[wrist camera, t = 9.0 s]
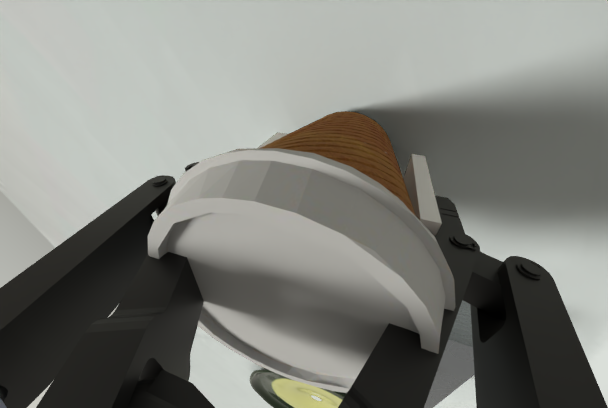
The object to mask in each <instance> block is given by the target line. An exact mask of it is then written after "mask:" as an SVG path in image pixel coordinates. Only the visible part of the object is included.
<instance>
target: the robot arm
mask: <svg viewBox="0 0 608 408" xmlns="http://www.w3.org/2000/svg"><path fill="white" fill-rule="evenodd" d="M286 135H288V134H285V133H278V132H277V133H276V134H275V135H273V136H272V137H271V138H270V139H268V140H267V141H266V142H264V143H263V144H262V145H260V146H259V147H258V148H257V149H259V148H261V147H264V146H265V145H267V144H269V143H272V142H274V141H275V140H278V139H280V138H282V137H284V136H286ZM198 163H199V162H197V163H193V164H190V165H188V166H187V167H186V168H185V170H186V171H188V170H189V169H191V168H192V167H194V166H195V165H196V164H198ZM403 180H404V182H405V185H406V189H407V191H408V194H409V197H410V200H411V203H412V206H413V209H414V212H415V215H416V217H417V218H418V219H419V220H420V221H421V222H422V224H423V225H424V226H425V227H426V228H427V229H428V230H429V231H430V232H431V233H432V234H433V235H434V236H435V238H436V240H437V243H438V245H439V247H440V249H441V251H442V253H443V255H444V257H445V259H446V262H447V264H448V266H449V268H450V270H451V272H452V275H453V278H454V286H455V309H454V311H452V310H448V309H444V312H443V319H442V326H441V334H440V343H439V353H438V354H437V353H434V352H431V351H428V350H426V349H423V348H421V341H420V334H418V333H416V332H413V331H411V330H408V329H405V328H402V327H399V326H396V325H393V324H390V323H389V324H388V326H387V328H386V329H385V331H384V333H383V334H382V336H381V338H380V339H379V341H378V343H377V344H376V346H375V348H374V349H373V351H372V353H371V354H370V356H369V358H368V359H367V361H366V363H365V364H364V366H363V368H362V370H361V371H360V373H359V375H358V376H357V378H356V380H355V381H354V383H353V385H352V386H351V388H350V389H349V391H348V392H347V394H346V395H345V397H344V398H343V400H342V402H341V403H340V405H339V407H338V408H424V406H425V403H426V400H427V398H428V395H429V392H430V389H431V386H432V384H433V381H434V378H435V375H436V372H437V370H438V367H439V364H440V361H441V358H442V356H443V353H444V350H445V347H446V344H447V342H448V339H449V336H450V333H451V331H452V328H453V325H454V322H455V319H456V317H457V314H458V311H459V308H460V305H461V303H462V300H463V301H465V302H467V303H469V304H470V308H471V324H472V340H473V356H474V371H475V387H476V403H477V408H608V407H607V405H606V403H605V401H604V398H603V396H602V393H601V391H600V388H599V386H598V384H597V381H596V379H595V377H594V374H593V372H592V370H591V367H590V365H589V362H588V360H587V358H586V355H585V353H584V350H583V348H582V346H581V343H580V341H579V339H578V336H577V334H576V332H575V329H574V327H573V324H572V322H571V320H570V317H569V315H568V313H567V310H566V308H565V305H564V303H563V301H562V298H561V296H560V294H559V291H558V289H557V287H556V284H555V282H554V279H553V278H552V276H551V275H550V274H549V272H547V271H546V270H545V269H544V268H543V267H542V266H540V265H539V264H537V263H535V262H533V261H531V260H528V259H526V258H523V257H518V256H510V257H508V258H507V259H506V260H505V261H504V262H502V261H499V260H497V259H495V258H492V257H490V256H488V255H486V254H484V253H482V252H480V247H479V245H478V244H477V242H476V241H475V240H473V239H472V238H471V237H469V236H468V235H466V234H465V232H464V230H463V227H462V224H461V221H460V218H459V215H458V213H457V210H456V207H455V205H454V204H453V203H452V202H451V201H450V200H449V199H448V198H444V197H439V196H435V194H434V190H433V186H432V182H431V178H430V174H429V169H428V165H427V161H426V157H425V156H423V155H416V154H412V155H411V158H410V160H409V163H408V166H407V169H406V172H405V175H404V178H403ZM175 184H176V182H175V179H174V178H173V177H171V176H157V177H155V178H152V179H150V180H148V181H147V182H145V183H144V184H143V185H141V186H140V187H139V188H137V189H136V190H134V191H133V192H132V193H130V194H129V195H128V196H126V197H125V198H123V199H122V200H121V201H119V202H118V203H117V204H115V205H114V206H112V207H111V208H110V209H108V210H107V211H106V212H104V213H103V214H101V215H100V216H99V217H97V218H96V219H95V220H93V221H92V222H90V223H89V224H88V225H86V226H85V227H84V228H82V229H81V230H79V231H78V232H77V233H75V234H74V235H73V236H71V237H70V238H68V239H67V240H66V241H64V242H63V243H62V244H60V245H59V246H58V247H56V248H55V249H53V250H52V251H51V252H49V253H48V254H47V255H45V256H44V257H42V258H41V259H40V260H38V261H37V262H36V263H34V264H33V265H31V266H30V267H29V268H27V269H26V270H25V271H24V272H22V273H20V274H19V275H18V276H16V277H15V278H14V279H12V280H11V281H9V282H8V283H7V284H5V285H4V286H3V287H1V288H0V408H27V407H28V406H29V405H30V404H31V403H32V402H33V401H34V400H35V398H37V397H38V396H39V395H40V394H41V393H42V392H43V391H44V390H45V389H46V388H47V387H48V385H50V383H51V382H52V381H53V380H54V381H53V382H52V384H51V385H50V387H49V389H48V390H47V392H46V393H45V395H44V396H43V398H42V400H41V401H40V403H39V404H38V406H37V407H36V408H215V407H214V406H213V405H212V404H211V403H210V402H209V401H208V400H207V399H206V398H205V397H204V395H203V394H202V393H201V392H200V391H199V390H198V389H197V388H196V387H195V386H194V385H193V384H192V383H190V382H188V380H189V375H190V352H191V347H192V344H193V340H194V336H195V333H196V329H197V325H198V321H199V318H200V314H201V310H202V307H203V303H204V300H203V297H202V295H201V292H200V290H199V287H198V284H197V282H196V279H195V277H194V274H193V272H192V269H191V266H190V264H189V261H188V259H187V257H184V256H181V255H178V254H175V253H171V252H167V253H166V254H164V255H163V256H162V257H161V258H160V259H157V258H154V257H150V256H149V255H148V234H149V232H150V229H151V227H152V225H153V222H154V220H153V218H152V216H151V214H152V213H153V212H154V211H156V213H157V215H158V216H159V215H160V213H161V212H162V211H163V210H164V209H165V208H166V206H167V203H168V200H169V196H170V192H171V189H172V188H173V187H174V185H175ZM118 304H119V305H118ZM117 305H118V307H117ZM116 307H117V309H116V310H115V312H114V313H113V314H112V315H111V316H110V317H108V316H109V315H110V314H111V312H112V311H113V310H114V309H115V308H116ZM107 317H108V318H107Z"/></svg>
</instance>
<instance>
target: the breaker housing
mask: <svg viewBox="0 0 608 408" xmlns="http://www.w3.org/2000/svg"><path fill="white" fill-rule="evenodd" d="M474 374H475V371H474V356H473V340H472V324H471V308H470V304H469V303H467V302H465V301H463V300H462V303H461V305H460V308H459V311H458V314H457V317H456V319H455V322H454V325H453V328H452V331H451V333H450V336H449V339H448V342H447V344H446V347H445V350H444V353H443V356H442V358H441V361H440V364H439V367H438V370H437V372H436V375H435V378H434V381H433V384H432V386H431V389H430V392H429V395H428V398H427V400H426V403H425V406H424V408H433V407H434V406H435V405H437V404H438V403H439V402H440V401H442V400H443V399H444V398H445V397H447V396H448V395H449V394H451V393H452V392H453V391H454V390H456V389H457V388H458V387H459V386H461V385H462V384H463V383H464V382H466V381H467V380H468V379H469V378H471V377H472V376H473V375H474Z"/></svg>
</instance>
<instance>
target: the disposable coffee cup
mask: <svg viewBox="0 0 608 408" xmlns="http://www.w3.org/2000/svg"><path fill="white" fill-rule="evenodd" d="M167 252H171V253H175V254H178V255H181V256H184V257H187V259H188V261H189V264H190V266H191V269H192V272H193V274H194V277H195V279H196V282H197V284H198V287H199V290H200V292H201V295H202V297H203V300H204V303H203V307H202V310H201V314H200V318H199V321H198V326H199V327H200V328H201V329H202V330H204V331H205V332H206V333H208V334H209V335H210V336H211V337H213V338H214V339H216V340H217V341H219V342H220V343H222V344H223V345H224V346H226V347H227V348H229V349H231V350H232V351H234V352H236V353H238V354H239V355H241V356H243V357H245V358H246V359H248V360H250V361H252V362H254V363H255V364H257V365H259V366H261V367H263V368H266V369H268V370H270V371H272V372H274V373H277V374H279V375H282V376H284V377H287V378H289V379H292V380H295V381H298V382H301V383H305V384H308V385H312V386H315V387H319V388H323V389H327V390H331V391H335V392H343V393H347V392H348V391H349V389H350V388H351V386H352V385H353V383H354V381H355V380H356V378H357V376H358V375H359V373H360V371H361V370H362V368H363V366H364V364H365V363H366V361H367V359H368V358H369V356H370V354H371V353H372V351H373V349H374V348H375V346H376V344H377V343H378V341H379V339H380V338H381V336H382V334H383V333H384V331H385V329H386V328H387V326H388V324H389V323H390V324H393V325H396V326H399V327H402V328H405V329H408V330H411V331H413V332H416V333H418V334H420V341H421V348H423V349H426V350H428V351H431V352H434V353H437V354H438V353H439V343H440V334H441V326H442V319H443V312H444V309H448V310H452V311H454V309H455V286H454V278H453V275H452V272H451V270H450V268H449V266H448V264H447V262H446V259H445V257H444V255H443V253H442V251H441V249H440V247H439V245H438V243H437V240H436V238H435V236H434V235H433V234H432V233H431V232H430V231H429V230H428V229H427V228H426V227H425V226H424V225H423V224H422V222H421V221H420V220H419V219H418V218H417V217H416V215H415V212H414V209H413V206H412V203H411V200H410V197H409V194H408V191H407V189H406V185H405V182H404V180H403V177H402V174H401V171H400V168H399V165H398V162H397V159H396V156H395V154H394V151H393V148H392V145H391V142H390V140H389V137H388V135H387V134H386V132H385V131H384V129H383V128H382V127H381V126H380V125H379V124H378V123H377V122H376V121H374V120H372V119H371V118H369V117H367V116H365V115H362V114H359V113H356V112H347V111H345V112H336V113H333V114H329V115H327V116H325V117H323V118H321V119H319V120H317V121H315V122H313V123H311V124H309V125H307V126H304V127H302V128H300V129H298V130H296V131H294V132H292V133H290V134H288V135H286V136H284V137H282V138H280V139H278V140H275V141H274V142H272V143H269V144H267V145H265V146H264V147H261V148H259V149H236V150H233V151H230V152H227V153H224V154H221V155H218V156H214V157H211V158H208V159H205V160H202V161H201V162H199V163H198V164H196V165H195V166H194V167H192V168H191V169H189V170H188V171H186V172H185V173H184V174H183V175H182V176H181V177H180V179H179V180H178V181H177V183H176V184H175V185H174V187H173V188H172V189H171V192H170V196H169V200H168V203H167V206H166V208H165V209H164V210H163V211H162V212H161V213H160V215H159V216H158V217H157V218H156V219H155V220H154V222H153V225H152V227H151V229H150V232H149V234H148V255H149V256H150V257H154V258H157V259H160V258H161V257H162V256H163V255H164V254H166V253H167Z"/></svg>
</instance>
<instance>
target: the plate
mask: <svg viewBox="0 0 608 408" xmlns="http://www.w3.org/2000/svg"><path fill="white" fill-rule="evenodd" d="M250 383H251V386H252V387H253V389H254V390H255V391H256V392H257V393H258V394H259V395H260V396H261V397H262V398H263V399H264V400H265V401H266V402H267V403H268V404H270V405H271V406H272V407H274V408H338V407H339V405H340V403H341V402H342V400H343V398H344V397H345V395H346V393H343V392H335V391H331V390H327V389H323V388H319V387H315V386H312V385H308V384H305V383H301V382H298V381H295V380H292V379H289V378H287V377H284V376H282V375H279V374H277V373H274V372H272V371H270V370H256V371H254V372H253V373H252V374H251V376H250ZM311 395H314V396H317V397H319V398H320V399H321V400H322V401H317V400H314V399H313V398H312V397H311Z"/></svg>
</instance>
